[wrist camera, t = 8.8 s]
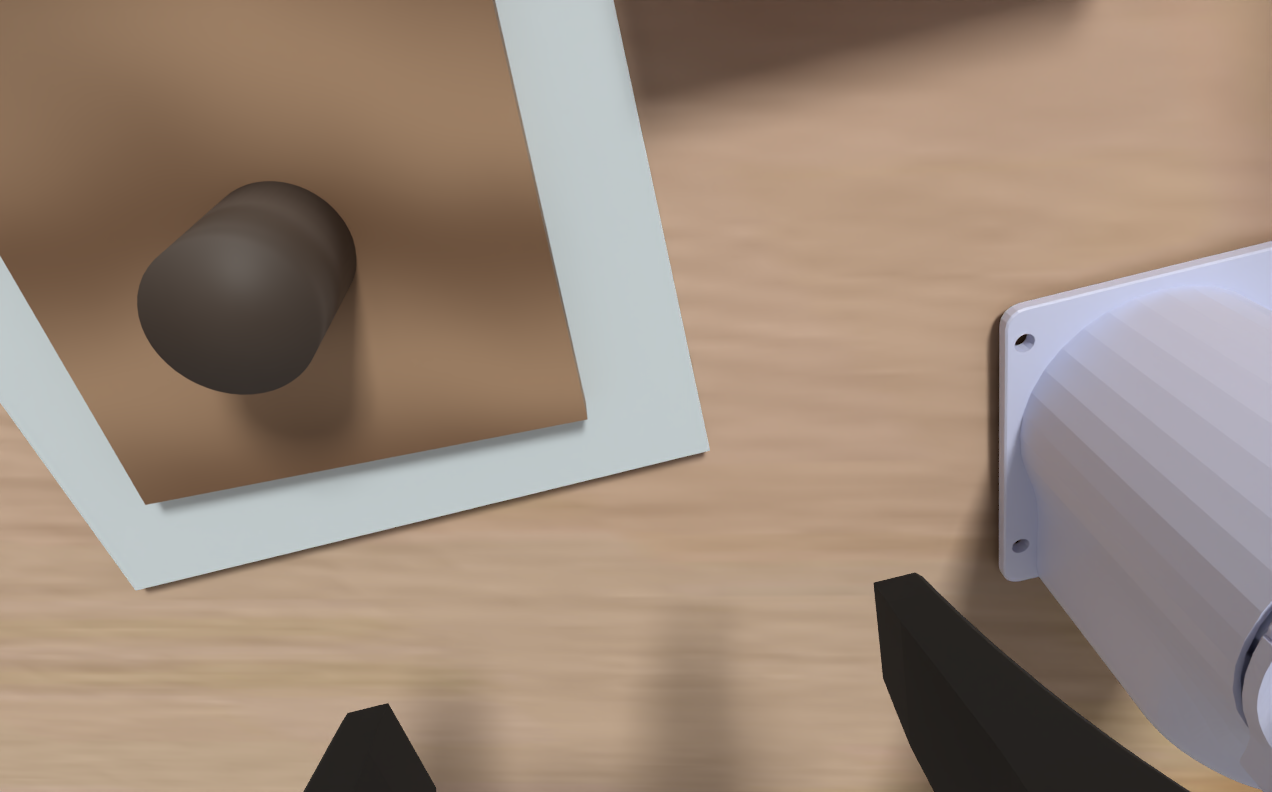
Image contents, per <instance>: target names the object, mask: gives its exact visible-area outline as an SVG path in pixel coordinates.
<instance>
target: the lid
mask: <svg viewBox="0 0 1272 792" xmlns="http://www.w3.org/2000/svg"><path fill="white" fill-rule="evenodd" d="M0 256H1V258H2V260H3V262H4V263H5V265H6V267H7V268H8V270H9V272H10V274H11V275H12V277H13V279H14V281H15V282H16V284H17V286H18V287H19V289H20V291H21V293H22V294H23V296H24V298H25V299H26V301H27V303H28V305H29V306H30V308H31V310H32V311H33V313H34V315H35V317H36V318H37V320H38V322H39V323H40V325H41V327H42V329H43V330H44V332H45V334H46V335H47V337H48V339H49V341H50V342H51V344H52V346H53V347H54V349H55V351H56V353H57V354H58V356H59V358H60V359H61V361H62V363H63V365H64V366H65V368H66V370H67V371H68V373H69V375H70V377H71V378H72V380H73V382H74V383H75V385H76V387H77V389H78V390H79V392H80V394H81V395H82V397H83V399H84V401H85V402H86V404H87V406H88V407H89V409H90V411H91V413H92V414H93V416H94V418H95V419H96V421H97V423H98V425H99V426H100V428H101V430H102V431H103V433H104V435H105V437H106V438H107V440H108V442H109V443H110V445H111V447H112V449H113V450H114V452H115V454H116V455H117V457H118V459H119V461H120V462H121V464H122V466H123V467H124V469H125V471H126V473H127V474H128V476H129V478H130V479H131V481H132V483H133V485H134V486H135V488H136V490H137V491H138V493H139V495H140V497H141V498H142V500H143V502H144V504H145V505H148V504H153V503H158V502H163V501H169V500H174V499H179V498H184V497H189V496H195V495H200V494H205V493H210V492H215V491H220V490H226V489H231V488H236V487H241V486H246V485H251V484H257V483H262V482H267V481H272V480H277V479H282V478H288V477H293V476H298V475H303V474H308V473H313V472H319V471H324V470H329V469H334V468H339V467H344V466H350V465H355V464H360V463H365V462H370V461H375V460H381V459H386V458H391V457H396V456H401V455H406V454H412V453H417V452H422V451H427V450H432V449H437V448H443V447H448V446H453V445H458V444H463V443H468V442H474V441H479V440H484V439H489V438H494V437H499V436H505V435H510V434H515V433H520V432H525V431H530V430H536V429H541V428H546V427H551V426H556V425H561V424H567V423H572V422H577V421H582V420H587V419H588V418H587V408H586V401H585V396H584V392H583V388H582V383H581V379H580V374H579V370H578V365H577V361H576V357H575V352H574V348H573V343H572V339H571V334H570V330H569V326H568V321H567V317H566V312H565V308H564V303H563V299H562V295H561V290H560V286H559V281H558V277H557V272H556V268H555V264H554V259H553V255H552V250H551V246H550V241H549V237H548V232H547V228H546V224H545V219H544V215H543V210H542V206H541V201H540V197H539V193H538V188H537V184H536V179H535V175H534V170H533V166H532V162H531V157H530V153H529V148H528V144H527V139H526V135H525V131H524V126H523V122H522V117H521V113H520V108H519V104H518V100H517V95H516V91H515V86H514V82H513V77H512V73H511V69H510V64H509V60H508V55H507V51H506V46H505V42H504V38H503V33H502V29H501V24H500V20H499V15H498V11H497V6H496V2H495V0H0Z"/></svg>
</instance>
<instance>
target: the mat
mask: <svg viewBox="0 0 1272 792" xmlns="http://www.w3.org/2000/svg"><path fill="white" fill-rule="evenodd" d="M495 2H496V6H497V11H498V15H499V20H500V24H501V29H502V33H503V38H504V42H505V46H506V51H507V55H508V60H509V64H510V69H511V73H512V77H513V82H514V86H515V91H516V95H517V100H518V104H519V108H520V113H521V117H522V122H523V126H524V131H525V135H526V139H527V144H528V148H529V153H530V157H531V162H532V166H533V170H534V175H535V179H536V184H537V188H538V193H539V197H540V201H541V206H542V210H543V215H544V219H545V224H546V228H547V232H548V237H549V241H550V246H551V250H552V255H553V259H554V264H555V268H556V272H557V277H558V281H559V286H560V290H561V295H562V299H563V303H564V308H565V312H566V317H567V321H568V326H569V330H570V334H571V339H572V343H573V348H574V352H575V357H576V361H577V365H578V370H579V374H580V379H581V383H582V388H583V392H584V396H585V401H586V408H587V418H588V419H587V420H582V421H577V422H572V423H567V424H561V425H556V426H551V427H546V428H541V429H536V430H530V431H525V432H520V433H515V434H510V435H505V436H499V437H494V438H489V439H484V440H479V441H474V442H468V443H463V444H458V445H453V446H448V447H443V448H437V449H432V450H427V451H422V452H417V453H412V454H406V455H401V456H396V457H391V458H386V459H381V460H375V461H370V462H365V463H360V464H355V465H350V466H344V467H339V468H334V469H329V470H324V471H319V472H313V473H308V474H303V475H298V476H293V477H288V478H282V479H277V480H272V481H267V482H262V483H257V484H251V485H246V486H241V487H236V488H231V489H226V490H220V491H215V492H210V493H205V494H200V495H195V496H189V497H184V498H179V499H174V500H169V501H163V502H158V503H153V504H148V505H145V504H144V502H143V500H142V498H141V497H140V495H139V493H138V491H137V490H136V488H135V486H134V485H133V483H132V481H131V479H130V478H129V476H128V474H127V473H126V471H125V469H124V467H123V466H122V464H121V462H120V461H119V459H118V457H117V455H116V454H115V452H114V450H113V449H112V447H111V445H110V443H109V442H108V440H107V438H106V437H105V435H104V433H103V431H102V430H101V428H100V426H99V425H98V423H97V421H96V419H95V418H94V416H93V414H92V413H91V411H90V409H89V407H88V406H87V404H86V402H85V401H84V399H83V397H82V395H81V394H80V392H79V390H78V389H77V387H76V385H75V383H74V382H73V380H72V378H71V377H70V375H69V373H68V371H67V370H66V368H65V366H64V365H63V363H62V361H61V359H60V358H59V356H58V354H57V353H56V351H55V349H54V347H53V346H52V344H51V342H50V341H49V339H48V337H47V335H46V334H45V332H44V330H43V329H42V327H41V325H40V323H39V322H38V320H37V318H36V317H35V315H34V313H33V311H32V310H31V308H30V306H29V305H28V303H27V301H26V299H25V298H24V296H23V294H22V293H21V291H20V289H19V287H18V286H17V284H16V282H15V281H14V279H13V277H12V275H11V274H10V272H9V270H8V268H7V267H6V265H5V263H4V262H3V260H2V258H1V256H0V403H1V404H2V406H3V407H4V409H5V410H6V411H7V413H8V414H9V416H10V417H11V418H12V420H13V421H14V422H15V424H16V425H17V427H18V428H19V429H20V431H21V432H22V434H23V435H24V436H25V438H26V439H27V440H28V442H29V443H30V445H31V446H32V447H33V449H34V450H35V452H36V453H37V454H38V456H39V457H40V458H41V460H42V461H43V463H44V464H45V465H46V467H47V468H48V470H49V471H50V472H51V474H52V475H53V477H54V478H55V479H56V481H57V482H58V483H59V485H60V486H61V488H62V489H63V490H64V492H65V493H66V495H67V496H68V497H69V499H70V500H71V501H72V503H73V504H74V506H75V507H76V508H77V510H78V511H79V513H80V514H81V515H82V517H83V518H84V520H85V521H86V522H87V524H88V525H89V526H90V528H91V529H92V531H93V532H94V533H95V535H96V536H97V538H98V539H99V540H100V542H101V543H102V544H103V546H104V547H105V549H106V550H107V551H108V553H109V554H110V556H111V557H112V558H113V560H114V561H115V563H116V564H117V565H118V567H119V568H120V569H121V571H122V572H123V574H124V575H125V576H126V578H127V579H128V581H129V582H130V583H131V585H132V586H133V587H134V589H135V590H140V589H144V588H148V587H152V586H156V585H161V584H165V583H169V582H173V581H177V580H181V579H185V578H189V577H193V576H197V575H202V574H206V573H210V572H214V571H218V570H222V569H226V568H230V567H234V566H238V565H243V564H247V563H251V562H255V561H259V560H263V559H267V558H271V557H275V556H279V555H284V554H288V553H292V552H296V551H300V550H304V549H308V548H312V547H316V546H320V545H325V544H329V543H333V542H337V541H341V540H345V539H349V538H353V537H357V536H361V535H366V534H370V533H374V532H378V531H382V530H386V529H390V528H394V527H398V526H403V525H407V524H411V523H415V522H419V521H423V520H427V519H431V518H435V517H439V516H444V515H448V514H452V513H456V512H460V511H464V510H468V509H472V508H476V507H480V506H485V505H489V504H493V503H497V502H501V501H505V500H509V499H513V498H517V497H521V496H526V495H530V494H534V493H538V492H542V491H546V490H550V489H554V488H558V487H562V486H567V485H571V484H575V483H579V482H583V481H587V480H591V479H595V478H599V477H603V476H608V475H612V474H616V473H620V472H624V471H628V470H632V469H636V468H640V467H644V466H649V465H653V464H657V463H661V462H665V461H669V460H673V459H677V458H681V457H685V456H690V455H694V454H698V453H702V452H706V451H710V448H709V444H708V439H707V434H706V430H705V425H704V420H703V416H702V411H701V406H700V402H699V397H698V392H697V388H696V383H695V378H694V374H693V369H692V364H691V360H690V355H689V350H688V346H687V341H686V336H685V332H684V327H683V322H682V318H681V313H680V308H679V304H678V299H677V294H676V290H675V285H674V280H673V276H672V271H671V266H670V262H669V257H668V252H667V248H666V243H665V238H664V234H663V229H662V224H661V220H660V215H659V210H658V206H657V201H656V196H655V192H654V187H653V182H652V178H651V173H650V168H649V164H648V159H647V154H646V150H645V145H644V140H643V136H642V131H641V126H640V122H639V117H638V113H637V108H636V103H635V99H634V94H633V89H632V85H631V80H630V75H629V71H628V66H627V61H626V57H625V52H624V47H623V43H622V38H621V33H620V29H619V24H618V19H617V15H616V10H615V5H614V1H613V0H495Z"/></svg>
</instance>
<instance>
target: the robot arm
mask: <svg viewBox="0 0 1272 792" xmlns="http://www.w3.org/2000/svg"><path fill="white" fill-rule="evenodd" d="M1024 334H1027V337H1026V339H1025V340H1024V342H1023V343H1021V344H1019V345H1015V343H1016V340H1017V339H1018V338H1019V337H1020V336H1022V335H1024ZM1020 539H1021V540H1020ZM1018 540H1020V541H1019V542H1018V543H1016V544H1014V543H1015V542H1016V541H1018ZM999 569H1000V571H1001V573H1002V574H1003V576H1004V577H1005V578H1006V579H1007V580H1009V581H1012V582H1015V581H1023V580H1027V579H1031V578H1035V577H1039V578H1040V579H1041V580H1042V582H1043V583H1044V584H1045V586H1046V587H1047V588H1048V589H1049V591H1050V592H1051V593H1052V595H1053V596H1054V597H1055V599H1056V600H1057V601H1058V603H1059V604H1060V605H1061V606H1062V608H1063V609H1064V610H1065V612H1066V613H1067V614H1068V616H1069V617H1070V618H1071V620H1072V621H1073V622H1074V624H1075V625H1076V626H1077V627H1078V629H1079V630H1080V631H1081V633H1082V634H1083V635H1084V637H1085V638H1086V639H1087V641H1088V642H1089V643H1090V644H1091V646H1092V647H1093V648H1094V650H1095V651H1096V652H1097V654H1098V655H1099V656H1100V658H1101V659H1102V660H1103V662H1104V663H1105V664H1106V665H1107V667H1108V668H1109V669H1110V671H1111V672H1112V673H1113V675H1114V676H1115V677H1116V679H1117V680H1118V681H1119V683H1120V684H1121V685H1122V686H1123V688H1124V689H1125V690H1126V692H1127V693H1128V694H1129V696H1130V697H1131V698H1132V700H1133V701H1134V702H1135V703H1136V705H1137V706H1138V707H1139V709H1140V710H1141V711H1142V713H1143V714H1144V715H1145V717H1146V718H1147V719H1148V720H1149V721H1150V722H1151V723H1152V725H1153V726H1154V727H1155V728H1156V729H1157V730H1158V731H1159V732H1160V733H1161V734H1162V735H1163V736H1164V737H1165V738H1166V739H1168V740H1169V741H1170V742H1171V743H1172V744H1174V745H1175V746H1176V747H1177V748H1179V749H1180V750H1181V751H1183V752H1184V753H1186V754H1187V755H1189V756H1190V757H1192V758H1193V759H1195V760H1196V761H1198V762H1200V763H1202V764H1203V765H1205V766H1207V767H1208V768H1210V769H1212V770H1214V771H1216V772H1218V773H1220V774H1222V775H1224V776H1226V777H1228V778H1230V779H1233V780H1235V781H1237V782H1240V783H1242V784H1245V785H1248V786H1251V787H1254V788H1258V789H1261V790H1262V791H1263V792H1272V241H1269V242H1265V243H1261V244H1257V245H1253V246H1249V247H1245V248H1241V249H1237V250H1233V251H1229V252H1225V253H1221V254H1217V255H1212V256H1208V257H1204V258H1200V259H1196V260H1192V261H1188V262H1184V263H1180V264H1176V265H1172V266H1168V267H1164V268H1160V269H1156V270H1151V271H1147V272H1143V273H1139V274H1135V275H1131V276H1127V277H1123V278H1119V279H1115V280H1111V281H1107V282H1103V283H1099V284H1094V285H1090V286H1086V287H1082V288H1078V289H1074V290H1070V291H1066V292H1062V293H1058V294H1054V295H1050V296H1046V297H1042V298H1038V299H1033V300H1029V301H1025V302H1021V303H1018V304H1015V305H1013V306H1011V307H1010V308H1009V309H1008V310H1006V311H1005V313H1004V314H1003V316H1002V317H1001V320H1000V325H999ZM874 592H875V602H876V612H877V622H878V632H879V642H880V652H881V662H882V672H883V679H884V682H885V684H886V687H887V689H888V692H889V694H890V697H891V699H892V702H893V704H894V707H895V710H896V712H897V715H898V717H899V719H900V722H901V724H902V727H903V729H904V732H905V734H906V737H907V739H908V741H909V744H910V746H911V748H912V750H913V752H914V754H915V756H916V758H917V760H918V762H919V764H920V766H921V767H922V769H923V771H924V773H925V775H926V777H927V779H928V781H929V783H930V785H931V786H932V788H933V790H934V792H1190V791H1188V790H1187V789H1185V788H1184V787H1182V786H1181V785H1179V784H1178V783H1176V782H1175V781H1173V780H1172V779H1170V778H1169V777H1167V776H1166V775H1164V774H1163V773H1161V772H1160V771H1158V770H1157V769H1155V768H1154V767H1152V766H1151V765H1149V764H1148V763H1146V762H1145V761H1143V760H1142V759H1140V758H1139V757H1137V756H1136V755H1135V754H1133V753H1132V752H1130V751H1129V750H1127V749H1126V748H1125V747H1123V746H1122V745H1120V744H1119V743H1118V742H1116V741H1115V740H1114V739H1112V738H1111V737H1109V736H1108V735H1107V734H1105V733H1104V732H1102V731H1101V730H1100V729H1099V728H1097V727H1096V726H1095V725H1093V724H1092V723H1091V722H1089V721H1088V720H1087V719H1085V718H1084V717H1083V716H1081V715H1080V714H1079V713H1077V712H1076V711H1075V710H1073V709H1072V708H1071V707H1069V706H1068V705H1067V704H1066V703H1064V702H1063V701H1062V700H1061V699H1059V698H1058V697H1057V696H1055V695H1054V694H1053V693H1052V692H1050V691H1049V690H1048V689H1047V688H1045V687H1044V686H1043V685H1042V684H1041V683H1039V682H1038V681H1037V680H1036V679H1035V678H1033V677H1032V676H1031V675H1030V674H1029V673H1027V672H1026V671H1025V670H1024V669H1023V668H1021V667H1020V666H1019V665H1018V664H1017V663H1015V662H1014V661H1013V660H1012V659H1011V658H1009V657H1008V656H1007V655H1006V654H1005V653H1004V652H1002V651H1001V650H1000V649H999V648H998V647H997V646H996V645H994V644H993V643H992V642H991V641H990V640H989V639H988V638H987V637H985V636H984V635H983V634H982V633H981V632H980V631H979V630H978V629H977V628H975V627H974V626H973V625H972V624H971V623H970V622H969V621H968V620H967V619H966V618H965V617H963V616H962V615H961V614H960V613H959V612H958V611H957V610H956V609H955V608H954V607H953V606H952V605H951V604H950V603H949V602H948V601H947V600H946V599H945V598H944V597H943V596H941V595H940V594H939V593H938V592H937V591H936V590H935V589H934V588H933V587H932V586H931V585H930V584H929V583H928V582H927V581H926V580H925V579H924V578H923V577H922V576H920V575H919V574H917V573H911V574H907V575H903V576H899V577H895V578H891V579H887V580H883V581H879V582H875V583H874ZM304 792H436V787H435V785H434V783H433V782H432V780H431V778H430V776H429V774H428V773H427V771H426V769H425V767H424V766H423V764H422V762H421V760H420V759H419V757H418V755H417V753H416V752H415V750H414V748H413V746H412V744H411V743H410V741H409V739H408V737H407V736H406V734H405V732H404V730H403V729H402V727H401V725H400V723H399V721H398V720H397V718H396V716H395V714H394V713H393V711H392V709H391V707H390V706H389V704H388V703H387V704H383V705H379V706H375V707H371V708H367V709H363V710H359V711H355V712H350V713H347V715H346V717H345V718H344V720H343V721H342V723H341V725H340V727H339V728H338V730H337V732H336V734H335V736H334V737H333V739H332V741H331V743H330V745H329V746H328V748H327V750H326V752H325V754H324V755H323V757H322V759H321V761H320V763H319V765H318V766H317V768H316V770H315V772H314V774H313V775H312V777H311V779H310V781H309V783H308V785H307V786H306V788H305V790H304Z"/></svg>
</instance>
